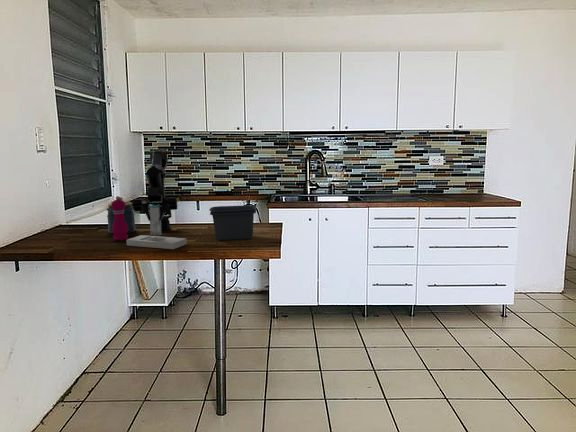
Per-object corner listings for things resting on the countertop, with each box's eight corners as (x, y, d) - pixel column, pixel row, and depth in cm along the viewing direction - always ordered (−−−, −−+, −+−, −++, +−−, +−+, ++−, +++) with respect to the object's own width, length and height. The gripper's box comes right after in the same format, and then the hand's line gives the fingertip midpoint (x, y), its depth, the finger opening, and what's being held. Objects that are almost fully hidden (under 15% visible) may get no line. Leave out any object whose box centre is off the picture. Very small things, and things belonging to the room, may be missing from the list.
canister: (140, 229, 237) (138, 195, 234) (127, 234, 224) (124, 198, 221) (117, 228, 239) (114, 195, 236) (103, 234, 226) (100, 198, 223)
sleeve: (148, 234, 201) (146, 204, 198) (158, 232, 204) (156, 203, 202) (154, 235, 197) (152, 205, 195) (163, 234, 201) (161, 204, 199)
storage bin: (209, 241, 206) (208, 210, 204) (213, 234, 221) (211, 205, 219) (257, 240, 207) (256, 209, 205) (257, 233, 222) (256, 204, 220)
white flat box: (126, 245, 201) (126, 239, 200) (141, 240, 210) (141, 234, 210) (173, 249, 193) (173, 242, 192) (186, 244, 202) (186, 238, 201)
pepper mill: (132, 237, 216) (129, 195, 213) (120, 240, 210) (117, 197, 207) (120, 236, 219) (117, 195, 216) (109, 239, 213) (105, 196, 210)
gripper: (131, 180, 199) (129, 209, 190) (175, 179, 202) (175, 208, 194) (134, 196, 208) (133, 225, 199) (177, 195, 211) (177, 223, 202)
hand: (154, 220), depth 198 cm, fingers closed on sleeve, 5 cm apart
